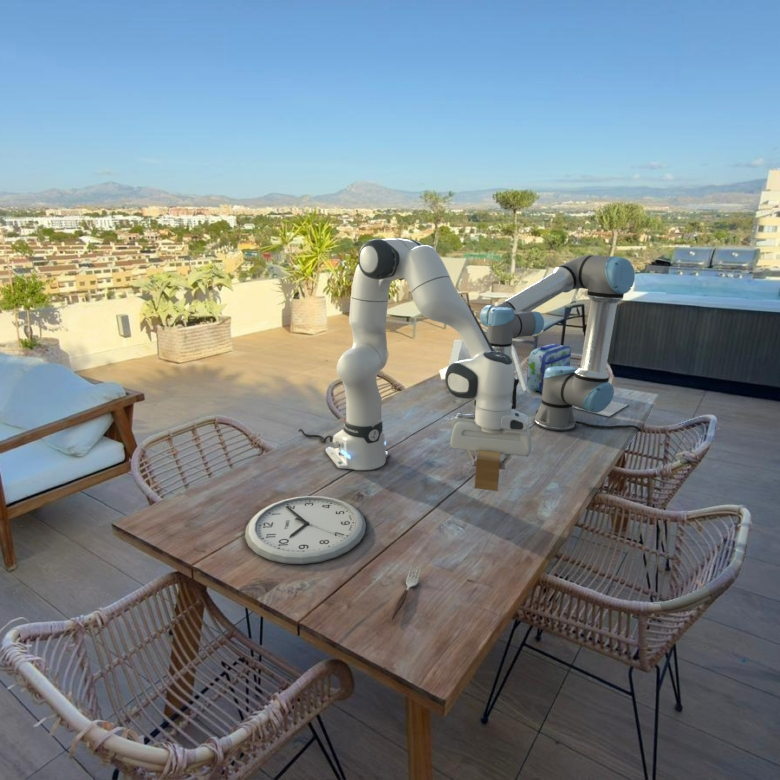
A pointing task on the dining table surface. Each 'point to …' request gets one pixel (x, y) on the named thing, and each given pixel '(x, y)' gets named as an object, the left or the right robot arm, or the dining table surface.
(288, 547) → the wall clock
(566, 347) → the lunch box
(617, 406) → the invitation card
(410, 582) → the fork
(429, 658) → the dining table surface
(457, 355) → the white plastic object
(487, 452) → the bar
